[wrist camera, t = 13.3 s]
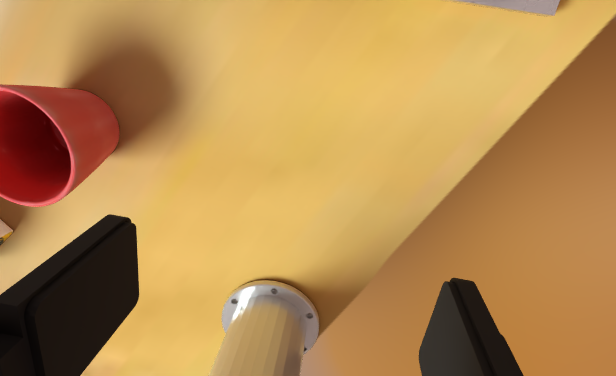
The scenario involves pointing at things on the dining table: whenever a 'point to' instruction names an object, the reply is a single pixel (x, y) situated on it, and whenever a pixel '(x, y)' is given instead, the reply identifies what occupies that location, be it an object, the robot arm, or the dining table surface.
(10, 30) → the dining table surface
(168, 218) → the dining table surface
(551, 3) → the post
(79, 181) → the flower pot
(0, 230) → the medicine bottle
